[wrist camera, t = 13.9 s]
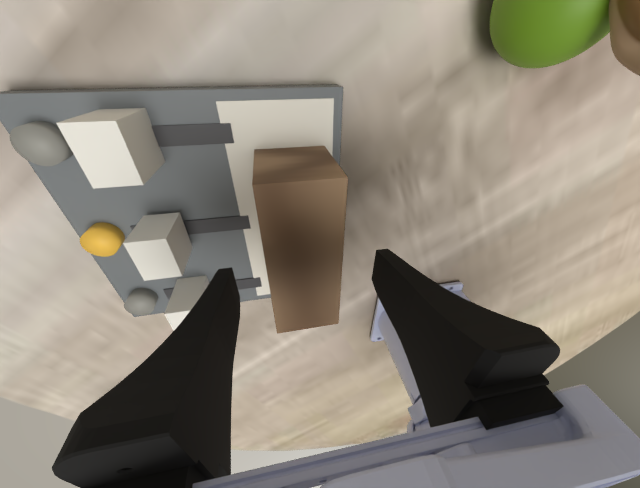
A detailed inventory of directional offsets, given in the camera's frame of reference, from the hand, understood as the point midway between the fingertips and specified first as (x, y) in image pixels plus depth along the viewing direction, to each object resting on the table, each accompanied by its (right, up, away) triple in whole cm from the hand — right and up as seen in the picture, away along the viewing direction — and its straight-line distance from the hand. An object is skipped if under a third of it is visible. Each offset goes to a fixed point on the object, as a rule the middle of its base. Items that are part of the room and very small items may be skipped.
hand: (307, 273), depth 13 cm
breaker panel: (-6, +4, +5) cm, 9 cm away
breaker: (-9, +2, +3) cm, 10 cm away
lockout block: (-1, +3, +5) cm, 6 cm away
